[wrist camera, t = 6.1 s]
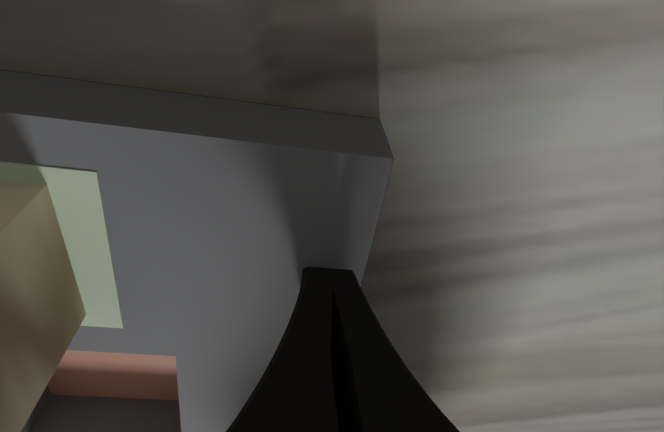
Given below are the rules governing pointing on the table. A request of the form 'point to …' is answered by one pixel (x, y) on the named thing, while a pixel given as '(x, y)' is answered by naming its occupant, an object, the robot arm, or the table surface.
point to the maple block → (32, 299)
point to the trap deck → (184, 238)
